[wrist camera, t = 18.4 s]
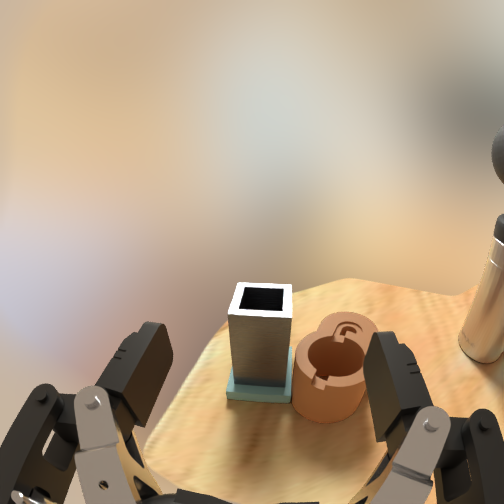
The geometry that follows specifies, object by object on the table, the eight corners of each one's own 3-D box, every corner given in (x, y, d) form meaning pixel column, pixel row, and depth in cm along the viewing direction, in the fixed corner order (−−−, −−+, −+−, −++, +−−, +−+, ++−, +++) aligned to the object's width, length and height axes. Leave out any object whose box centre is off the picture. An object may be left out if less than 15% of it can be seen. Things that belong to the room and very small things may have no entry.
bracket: (349, 432, 22) (368, 395, 19) (278, 410, 26) (281, 371, 23) (376, 333, 36) (387, 294, 34) (326, 321, 40) (332, 282, 37)
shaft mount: (291, 354, 34) (294, 315, 31) (289, 403, 26) (295, 365, 24) (238, 351, 34) (235, 312, 32) (227, 398, 27) (221, 360, 24)
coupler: (286, 353, 32) (291, 284, 28) (284, 387, 27) (291, 317, 23) (241, 350, 33) (238, 282, 29) (234, 383, 28) (227, 313, 24)
